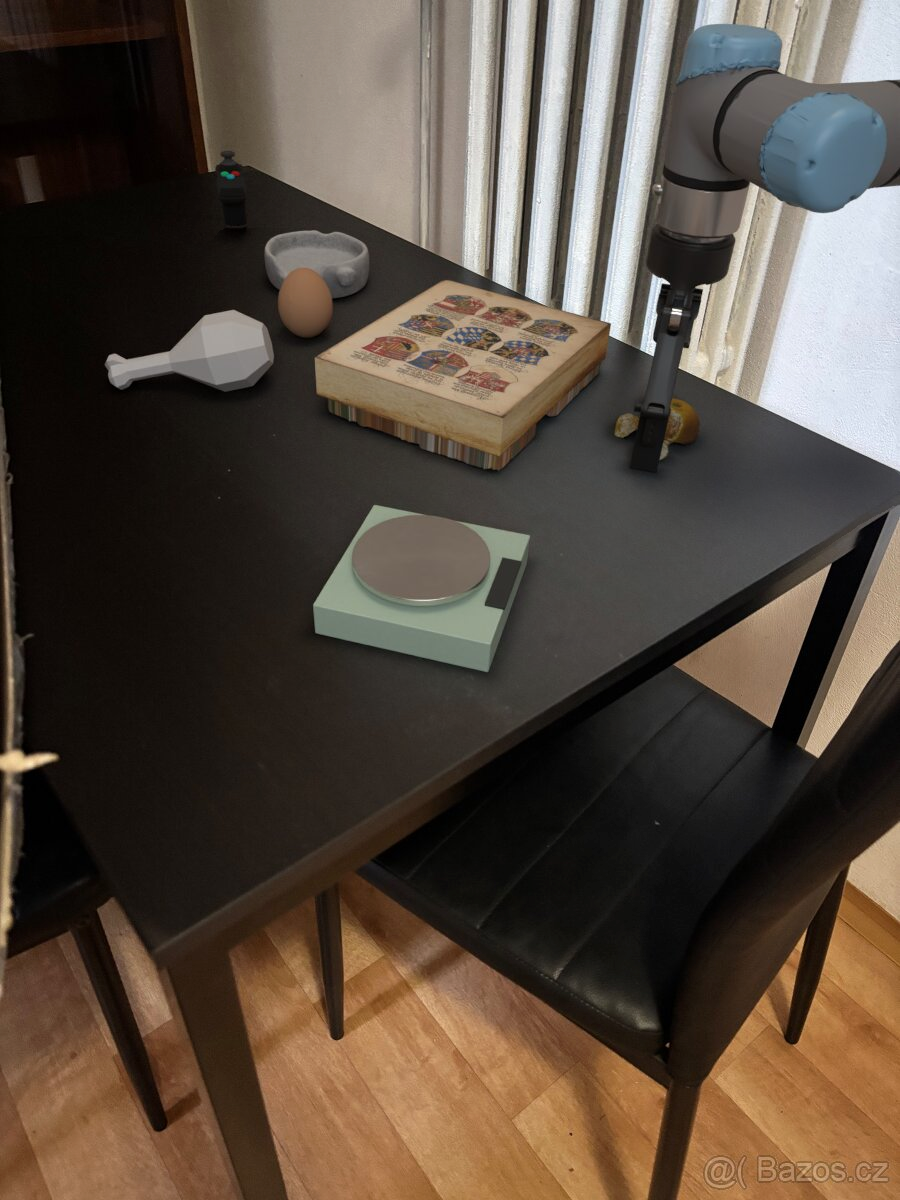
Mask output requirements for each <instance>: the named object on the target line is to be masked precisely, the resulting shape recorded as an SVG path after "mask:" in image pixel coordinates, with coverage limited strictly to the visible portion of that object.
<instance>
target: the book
mask: <svg viewBox="0 0 900 1200" xmlns="http://www.w3.org/2000/svg"><path fill="white" fill-rule="evenodd" d="M611 327H612V323H611V322H607V321H604V320H601V319H600V320H599V319H596V318H592V317H588V316H586V315H585V316H584V315H581V314H577V313H574V312H570V311H567V310H562V309H558V308H555V307H551V306H547V305H543V304H540V303H536V302H533V301H528V300H524V299H521V298H517V297H514V296H510V295H506V294H503V293H498V292H496V291H491V290H488V289H484V288H480V287H477V286H472V285H469V284H466V283H461V282H458V281H455V280H454V281H453V280H451V279H447V278H444V279H443V280H441V281H439V282H437V283H436V284H435V285H433V286H431V287H429V288H427V289H426V290H424V291H423V292H421V293H419V294H418V295H416V296H415V297H413V298H411V299H410V300H408V301H406V302H405V303H403V304H401V305H400V306H398V307H396V308H395V309H393V310H391V311H389V312H387V313H386V314H385V315H383V316H381V317H380V318H378V319H376V320H375V321H373V322H372V323H370V324H368V325H366V326H365V327H363V328H361V329H359V330H357V331H356V332H354V333H353V334H351V335H349V336H348V337H347V338H345V339H343V340H342V341H340V342H338V343H337V344H334V345H333V346H332V347H329V348H328V349H326V350H324V351H323V352H321V353H320V354H318V355H316V356H314V368H315V369H314V370H315V386H316V387H315V389H316V395H317V396H319V397H322V398H324V399H327V410H328V412H329V413H331V414H332V415H336V416H339V417H341V418H344V419H346V420H347V421H349V422H354V423H357V424H358V426H360V427H368V428H370V429H374V430H376V431H380V432H383V433H385V434H388V435H391V436H393V437H397V438H400V439H401V440H402V441H406V442H408V443H414V444H415V445H416V444H417V445H419V448H420V449H422V450H425V451H428V452H430V453H435V454H438V455H442V456H445V457H447V458H450V459H453V460H454V459H455V460H458V461H461V462H463V463H466V464H467V465H470V466H474V467H477V468H481V469H482V468H483V470H489V469H492V470H497V471H498V472H500V471H501V470H502V469H503V468H504V467H506V465H507V464H508V463H510V460H513V459H514V458H515V457H516V456H517V455H518V454H519V453H520V452H521V451H522V450H523V449H524V448H525V447H526V446H528V444H529V443H530V442H531V441H532V440H533V438H535V437H536V430H537V423H538V422H539V421H540V420H541V419H542V418H543V417H544V416H545V415H546V416H548V417H556V416H558V415H559V413H561V412H562V411H563V409H564V408H565V407H567V405H568V404H569V403H570V402H571V401H572V400H573V399H574V398H575V397H576V396H577V395H578V394H580V392H581V390H583V388H585V387H586V386H588V384H589V383H590V382H592V380H594V378H595V377H596V376H597V375H598V374H599V373H600V369H601V365H602V362H603V361H604V360H605V359H606V358H607V351H608V345H609V339H610V332H611Z"/></svg>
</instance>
